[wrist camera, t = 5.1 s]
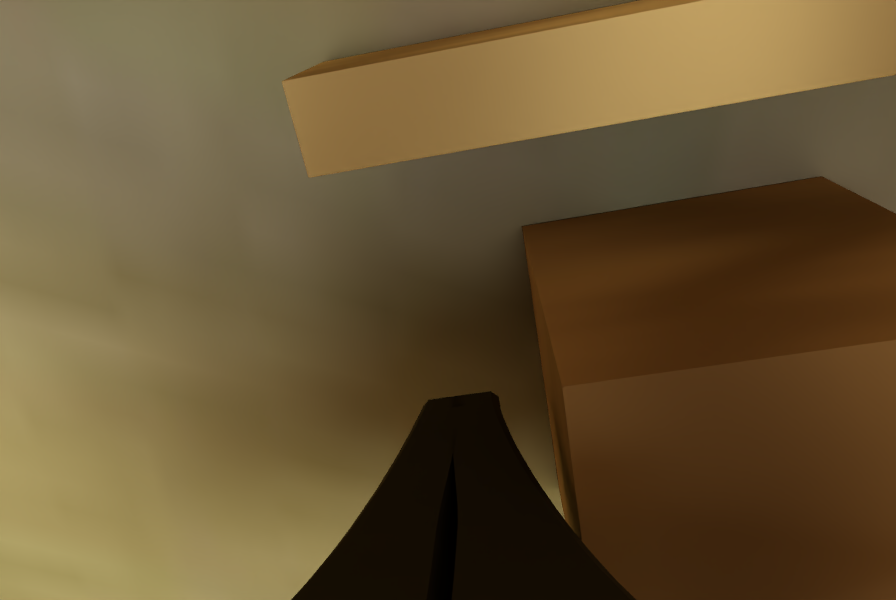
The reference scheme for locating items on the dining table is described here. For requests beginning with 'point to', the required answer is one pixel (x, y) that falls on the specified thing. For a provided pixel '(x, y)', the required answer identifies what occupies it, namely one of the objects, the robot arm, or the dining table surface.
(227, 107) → the dining table surface
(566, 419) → the walnut block
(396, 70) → the trap lane
